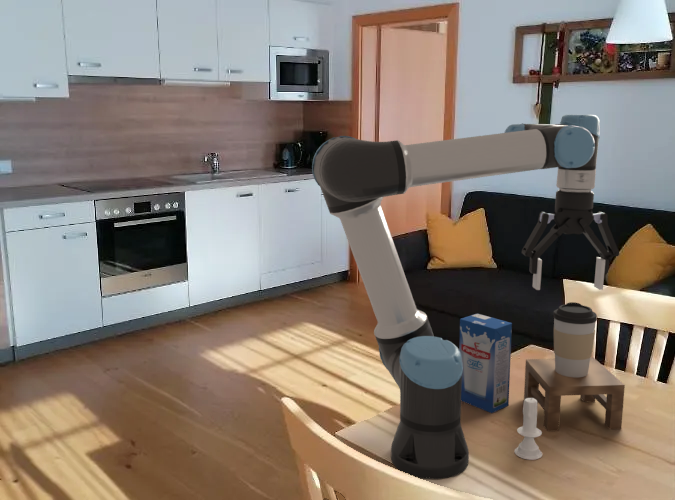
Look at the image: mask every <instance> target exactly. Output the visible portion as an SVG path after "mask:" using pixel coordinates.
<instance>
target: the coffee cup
mask: <svg viewBox="0 0 675 500" xmlns="http://www.w3.org/2000/svg"><path fill="white" fill-rule="evenodd" d="M552 317H553V318H554V319H553V320H554V321H553V323H554V324H553V353H554V359H555V371H556V372H557V373H558V374H560V375H563V376H567V377H584V376H586V375H588V370H589V363H590V358H592V355H593V348H594V343H595V342H594V341H595V335H596V323H597V321H598V319H597V317H598V315H597V313H596V312H595V311H593V308H592V307H589V306H587V305H583V304H581V303H579V302H573V301H572V302H570V301H569V302H567V303H565V304H561V305H560V306H558V308H557V309H554V310H553V315H552Z"/></svg>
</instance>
